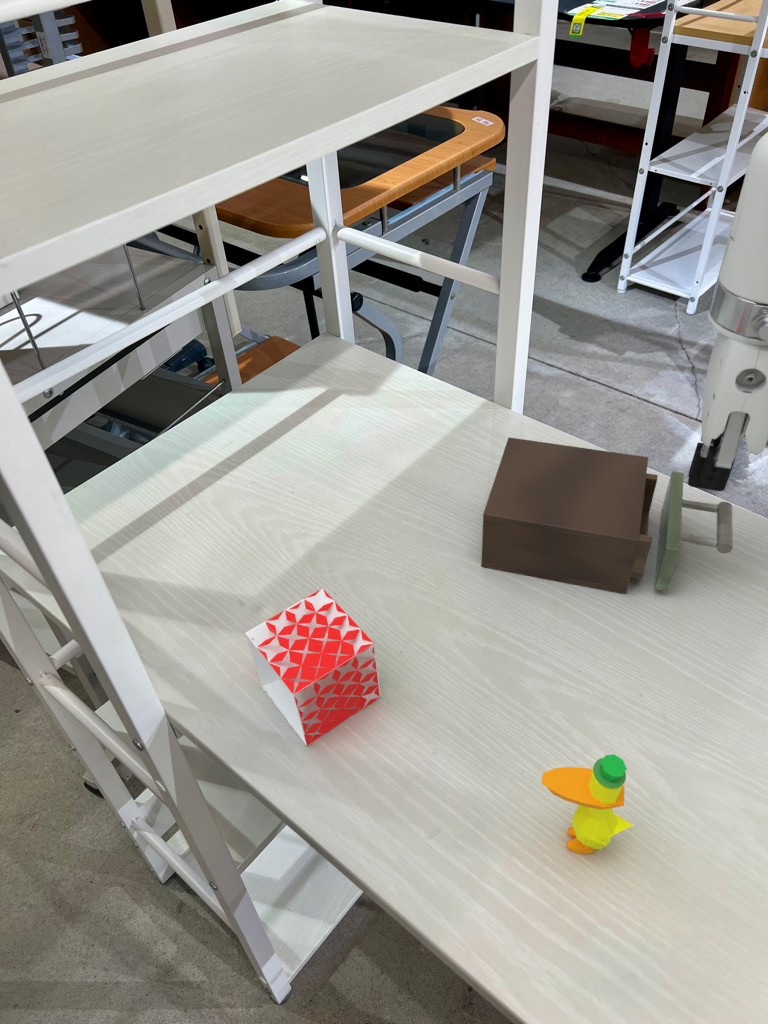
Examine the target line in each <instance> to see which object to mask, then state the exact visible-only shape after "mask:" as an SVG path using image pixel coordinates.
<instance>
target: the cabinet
mask: <svg viewBox="0 0 768 1024" xmlns="http://www.w3.org/2000/svg"><path fill="white" fill-rule="evenodd" d="M648 463H649V457H648V456H642V455H635V454H629V453H621V452H614V451H608V450H601V449H594V448H586V447H579V446H572V445H566V444H565V445H564V444H559V443H551V442H544V441H537V440H531V439H523V438H516V437H511V436H510V437H508V438H507V441H506V444H505V447H504V450H503V453H502V456H501V459H500V462H499V466H498V468H497V472H496V474H495V477H494V480H493V484H492V486H491V490H490V492H489V495H488V499H487V500H486V501H487V502H486V505H485V507H484V510H483V515H482V535H481V536H482V539H481V563H480V564H481V567H482V568H485V569H492V570H497V571H502V572H508V573H512V574H513V573H514V574H517V575H524V576H530V577H535V578H538V579H545V580H549V581H554V582H559V583H565V584H570V585H576V586H580V587H587V588H592V589H596V590H602V591H607V592H613V593H618V594H622V595H627V591H628V588H629V584H630V580H631V577H630V576H631V572H632V567H633V563H634V559H635V555H636V551H637V547H638V543H639V536H640V527H641V518H642V509H643V500H644V491H645V482H646V473H647V472H648V471H647V470H648V465H649V464H648Z"/></svg>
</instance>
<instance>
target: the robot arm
mask: <svg viewBox="0 0 768 1024" xmlns="http://www.w3.org/2000/svg"><path fill="white" fill-rule="evenodd" d="M746 168H747V169H746V172H745V175H744V179H743V183H742V186H741V189H740V194H739V197H738V200H737V204H736V208H735V212H734V215H733V220H732V223H731V227H730V231H729V234H728V237H727V242H726V245H725V249H724V252H723V255H722V260H721V263H720V266H719V271H718V275H717V277H716V282H715V285H714V289H713V293H712V297H711V300H710V303H709V308H708V311H707V320H708V323H709V324H710V325H711V327H712V328H713V329H714V330H715V331H716V332H717V333H716V336H715V340H714V343H713V346H712V350H711V353H710V358H709V361H708V365H707V369H706V374H705V379H704V386H703V391H702V404H701V405H702V407H701V410H702V411H701V434H700V435H701V436H700V442H697V443H696V446H695V451H694V453H693V457H692V461H691V464H690V467H689V470H688V479H687V484H688V486H689V487H691V488H697V489H703V490H709V491H714V492H715V491H716V492H723V491H724V490H725V489H726V487H727V483H728V480H729V478H730V475H731V472H732V469H733V466H734V464H735V461H736V458H737V454H738V452H739V449H740V447H741V444H742V442H743V440H744V437H745V443H746V448H747V452H748V454H753V455H756V456H758V455H760V454H762V453H763V452H764V451H765V448H766V445H767V442H768V131H767V132H765V134H763V136H762V137H760V138H759V139H758V141H757V142H756V144H755V145H754V147H753V150H752V152H751V155H750V158H749V161H748V165H747V167H746Z"/></svg>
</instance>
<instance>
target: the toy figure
mask: <svg viewBox="0 0 768 1024" xmlns="http://www.w3.org/2000/svg"><path fill="white" fill-rule="evenodd" d="M626 771H627V766H626V764H625V762H624V759H622V758H621V757H620V756H618V755H616V754H607V755H604V757H600V758H598V759H597V760H596V761H595V762H594V764H593V767H592V768H589V767H576V766H562V767H555V768H552V769H549V770H547V771H545V772H543V773H542V776H541V785H543V786H544V787H546V788H547V790H549V792H550V793H551V794H552V795H553V796H555V797H558V798H559V799H561V800H563V801H566V802H569V803H573V804H575V805H578V806H577V807H576V809H575V811H574V813H573V815H572V819H571V826H569V827H568V828H567V836H569V837H570V838H572V839H570V840H566V850H568V851H570V852H572V853H574V854H579V855H583V854H585V855H586V854H594V853H595V850H603V849H604V848H605V847H606V846H609V844H610V842H611V840H612V838H613V837H614V835H616V834H619V833H621V832H623V831H625V830H627V829H629V828H631V827H633V826H634V824H632V823H631V822H629V821H628V820H625V819H624V818H622V817H621V816H619V815H618V814H616V813H615V811H614V809H613V808H619V807H624V806H625V782H626V779H627V774H626Z"/></svg>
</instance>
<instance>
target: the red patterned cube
mask: <svg viewBox="0 0 768 1024" xmlns="http://www.w3.org/2000/svg"><path fill="white" fill-rule="evenodd" d="M244 633H245V637H246V640H247V643H248V647H249V650H250V653H251V656H252V660H253V664H254V667H255V669H256V673H257V676H258V679H259V682H260V685H261V687H262V689H263V690H264V691H265V692H266V694H267V695H268V697H269V698H270V699H271V702H273V703H274V705H275V706H276V707H277V709H278V710H279V711H280V713H281V714H282V716H283V717H284V718H285V720H286V721H287V722H288V724H289V725H290V726H291V727H292V729H293V730H294V732H295V733H296V734H297V735H298V737H299V738H300V740H301V741H302V742H303V744H304V745H305V746H306V747H309V746H311V745H312V744H313V743H315V742H317V741H318V740H319V739H321V738H322V737H324V736H325V735H327V734H329V733H330V732H331V731H333V730H334V729H336V728H337V727H339V726H340V725H342V724H343V723H344V722H346V721H347V720H349V719H351V718H352V717H354V716H355V715H356V714H358V713H359V712H360V711H362V710H364V709H366V708H367V707H368V706H370V705H371V704H373V703H374V702H376V701H377V700H378V699H380V698H381V697H382V694H381V687H380V677H379V670H378V662H377V654H376V653H377V651H376V645H375V642H374V641H373V640H372V639H371V638H370V637H369V636H368V634H366V632H365V631H363V629H362V628H361V627H360V626H359V625H358V624H357V623H356V622H355V620H353V619H352V618H351V616H349V614H348V613H347V612H346V611H345V610H344V609H343V608H342V607H341V606H340V605H339V604H338V602H337V601H336V600H334V598H333V597H332V596H331V595H330V594H329V593H328V592H327V591H326V590H325V589H324V588H323V587H321V588H320V589H318V590H316V591H315V592H313V593H311V594H309V595H308V596H306V597H305V598H303V599H301V600H299V601H297V602H296V603H294V604H292V605H291V606H289V607H287V608H285V609H284V610H282V611H280V612H279V613H277V614H275V615H274V616H272V617H270V618H268V619H266V620H265V621H263V622H261V623H260V624H258V625H256V626H254V627H253V628H251V629H250V630H248V631H246V632H244Z"/></svg>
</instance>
